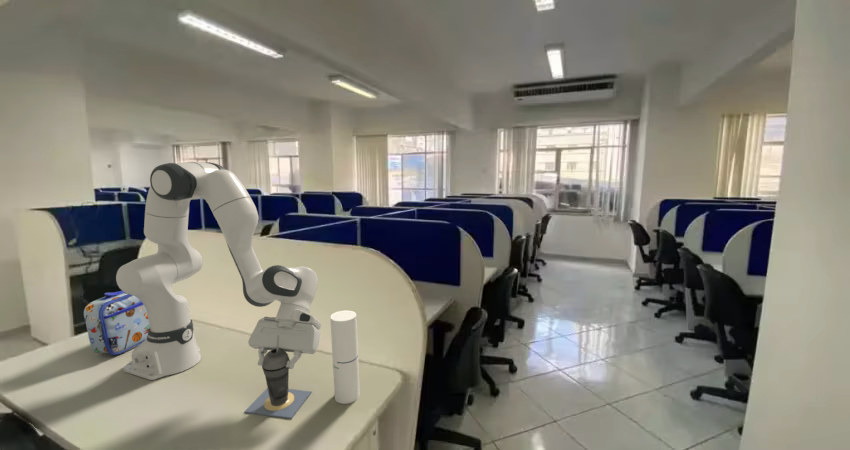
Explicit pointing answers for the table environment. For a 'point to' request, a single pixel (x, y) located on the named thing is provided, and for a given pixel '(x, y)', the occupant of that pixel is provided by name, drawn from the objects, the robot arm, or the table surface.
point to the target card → (284, 411)
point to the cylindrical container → (345, 356)
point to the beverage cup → (276, 375)
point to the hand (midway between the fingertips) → (275, 366)
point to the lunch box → (116, 323)
